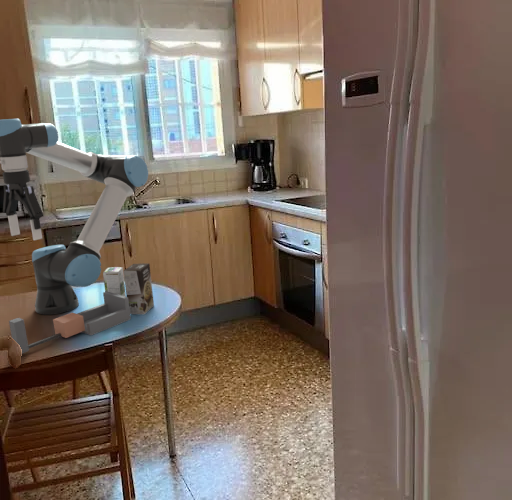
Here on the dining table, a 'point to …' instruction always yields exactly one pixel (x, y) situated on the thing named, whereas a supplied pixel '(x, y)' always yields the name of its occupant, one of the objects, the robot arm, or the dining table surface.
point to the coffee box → (139, 288)
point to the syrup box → (114, 280)
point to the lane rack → (106, 313)
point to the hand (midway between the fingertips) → (26, 237)
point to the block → (62, 327)
